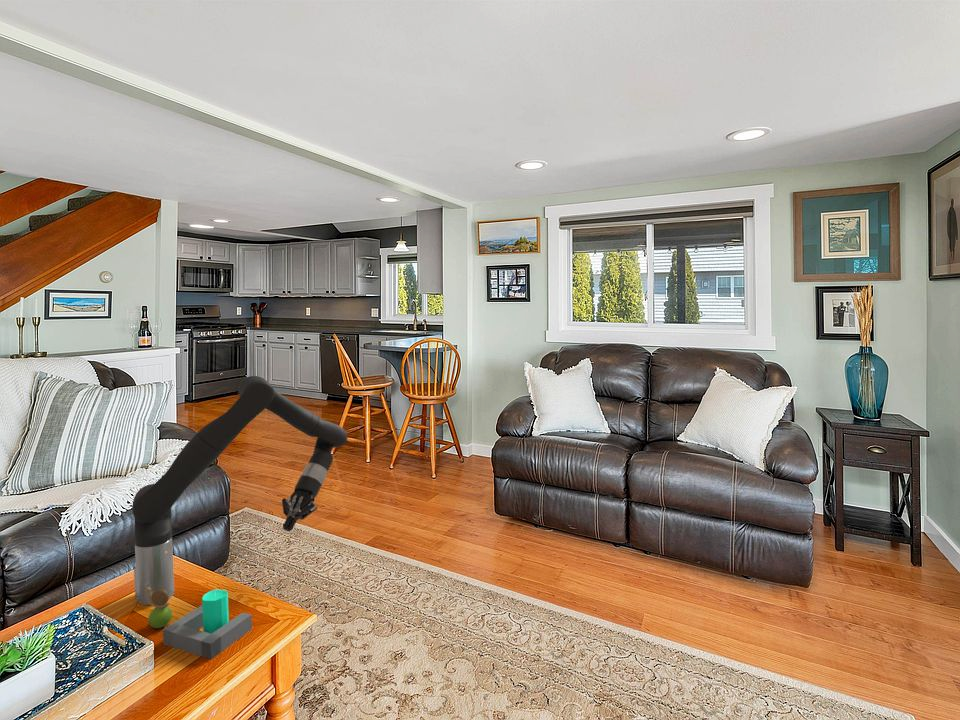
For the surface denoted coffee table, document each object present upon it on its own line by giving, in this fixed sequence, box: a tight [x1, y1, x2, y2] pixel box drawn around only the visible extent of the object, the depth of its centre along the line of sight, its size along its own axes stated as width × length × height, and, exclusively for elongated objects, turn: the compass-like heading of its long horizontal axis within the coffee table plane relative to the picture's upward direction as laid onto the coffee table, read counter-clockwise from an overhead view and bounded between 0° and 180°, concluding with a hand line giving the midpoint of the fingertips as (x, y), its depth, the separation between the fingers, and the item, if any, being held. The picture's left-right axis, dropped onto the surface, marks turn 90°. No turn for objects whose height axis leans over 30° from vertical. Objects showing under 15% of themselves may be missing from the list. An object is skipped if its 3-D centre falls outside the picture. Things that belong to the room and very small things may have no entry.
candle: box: [201, 588, 230, 634], centre depth 135 cm, size 6×6×12 cm
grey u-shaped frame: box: [162, 604, 253, 660], centre depth 133 cm, size 16×13×4 cm
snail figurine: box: [144, 582, 173, 629], centre depth 137 cm, size 5×6×12 cm
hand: (286, 530), depth 159 cm, fingers closed
